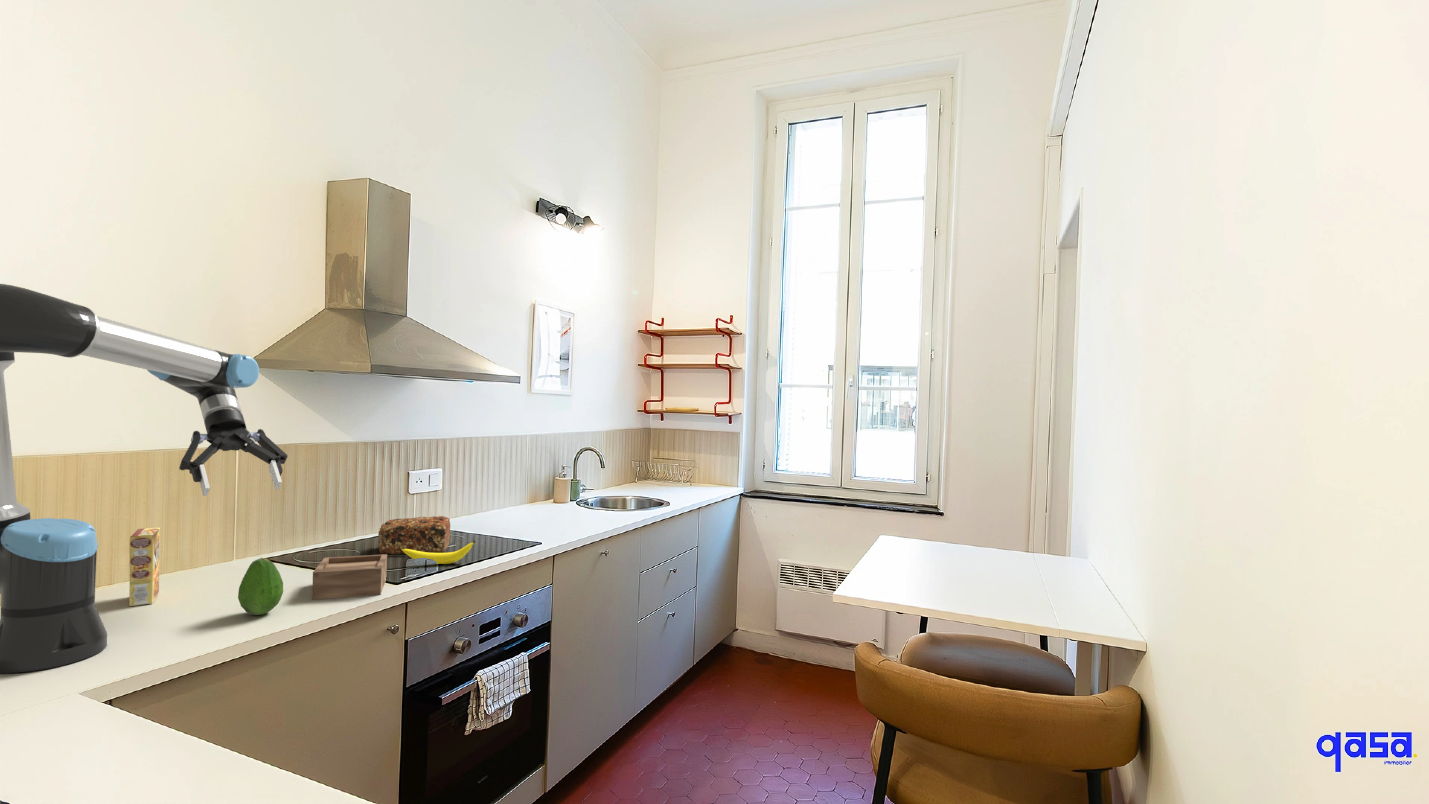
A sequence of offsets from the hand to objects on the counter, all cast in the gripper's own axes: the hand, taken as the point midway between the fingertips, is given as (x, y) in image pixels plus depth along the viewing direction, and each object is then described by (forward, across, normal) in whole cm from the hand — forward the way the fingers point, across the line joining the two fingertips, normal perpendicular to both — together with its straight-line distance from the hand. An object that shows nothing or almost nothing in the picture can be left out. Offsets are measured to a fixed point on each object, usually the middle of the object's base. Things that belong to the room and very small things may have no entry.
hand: (243, 488), depth 147 cm
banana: (+19, -46, -18) cm, 53 cm away
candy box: (+7, +14, -29) cm, 33 cm away
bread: (+5, -50, -33) cm, 60 cm away
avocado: (+27, 0, -9) cm, 28 cm away
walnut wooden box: (+23, -20, -13) cm, 33 cm away
